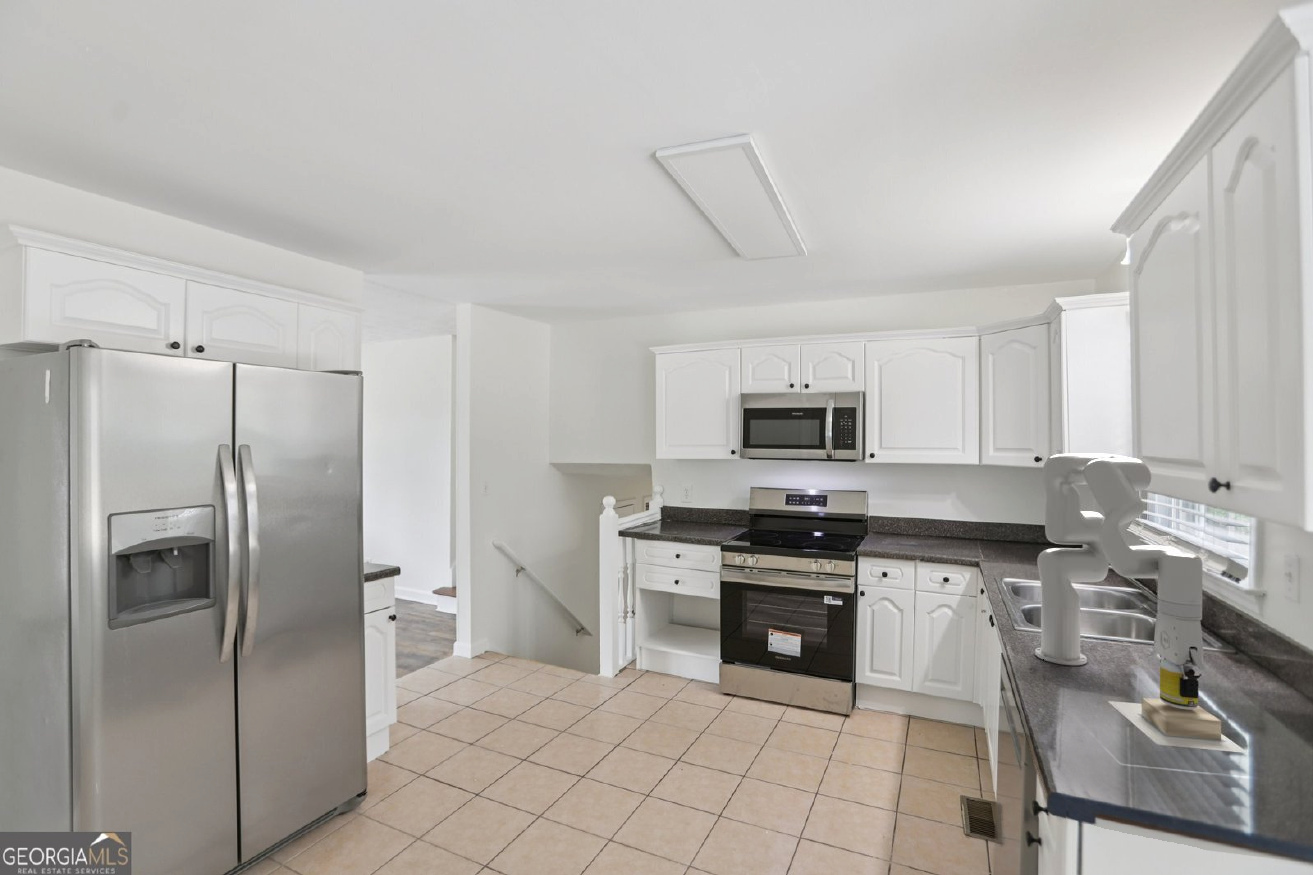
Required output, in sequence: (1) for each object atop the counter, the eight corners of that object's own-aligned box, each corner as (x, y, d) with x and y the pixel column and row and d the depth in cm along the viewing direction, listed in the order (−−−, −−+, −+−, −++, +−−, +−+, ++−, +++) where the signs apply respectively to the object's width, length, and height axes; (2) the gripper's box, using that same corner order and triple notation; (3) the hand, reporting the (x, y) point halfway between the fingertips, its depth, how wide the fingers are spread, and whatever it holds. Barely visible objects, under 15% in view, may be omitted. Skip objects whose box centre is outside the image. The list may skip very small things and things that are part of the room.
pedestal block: (1141, 715, 145) (1141, 697, 145) (1192, 719, 142) (1192, 701, 142) (1166, 735, 135) (1166, 716, 135) (1221, 740, 133) (1221, 721, 133)
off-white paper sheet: (1107, 702, 152) (1107, 700, 152) (1184, 708, 149) (1184, 707, 149) (1157, 746, 131) (1157, 744, 131) (1248, 754, 127) (1248, 753, 127)
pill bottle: (1183, 712, 135) (1183, 658, 135) (1152, 699, 141) (1152, 648, 141) (1205, 708, 137) (1206, 655, 136) (1174, 696, 143) (1174, 645, 143)
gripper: (1139, 597, 148) (1138, 674, 148) (1182, 619, 131) (1182, 705, 131) (1176, 599, 146) (1176, 677, 146) (1225, 621, 129) (1224, 709, 130)
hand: (1179, 689), depth 139 cm, fingers closed on pill bottle, 6 cm apart
